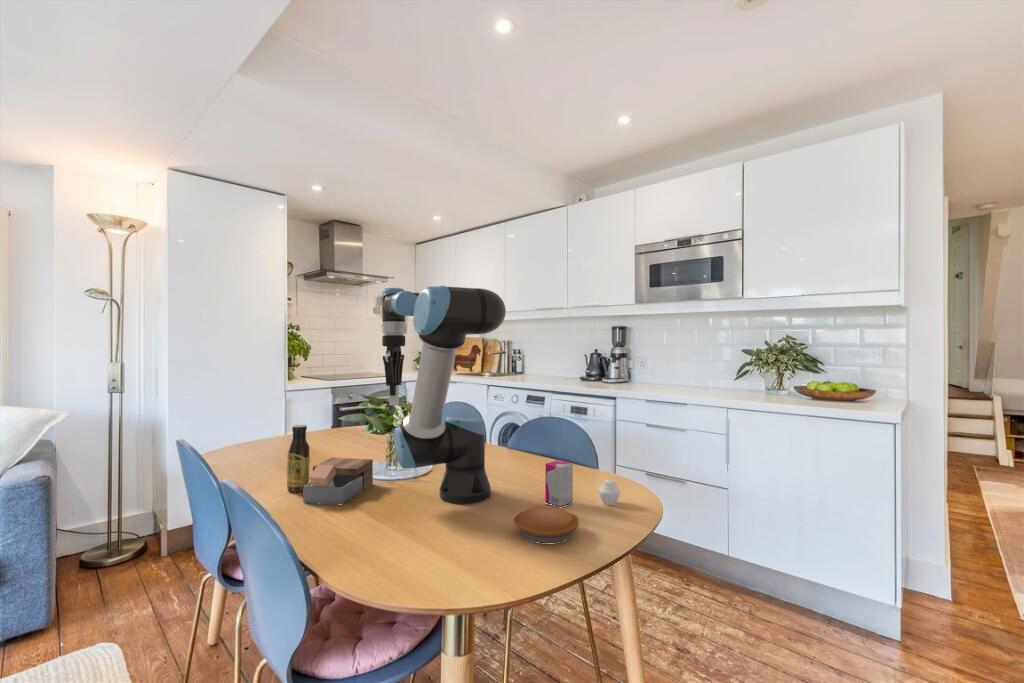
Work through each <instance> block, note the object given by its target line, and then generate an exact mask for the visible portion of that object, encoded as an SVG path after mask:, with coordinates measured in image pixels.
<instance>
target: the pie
mask: <svg viewBox="0 0 1024 683" xmlns="http://www.w3.org/2000/svg"><path fill="white" fill-rule="evenodd" d="M513 521H514V524H515V526H516V527H517V528H518V529H519V532H520V534H521V535H522V536H523V538H525V539H526V540H527V539H528V541H529V540H531V541H534V542H533V543H535V542H539V543H557V542H561V541H564V540H566V539H567V540H569V538H570V537H571V535H572V534H573V533H574V531H575V529H576V528H577V527H578V526H579V522H580V521H579V518H578V515H576V514H574V513H572V512H569V511H568V510H566V509H564V508H558V507H554V506H550V505H547V506H544V505H543V506H533V507H530V508H526V509H524V510H523V511H520V512H519V513H517V514H516V515H515V516H514V518H513ZM567 540H566V541H567ZM531 541H530V542H531ZM564 542H565V541H564ZM539 543H538V544H539ZM561 543H562V542H561ZM557 544H558V543H557Z"/></svg>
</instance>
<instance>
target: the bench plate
mask: <svg viewBox="0 0 1024 683" xmlns="http://www.w3.org/2000/svg"><path fill="white" fill-rule="evenodd" d="M319 464H320V465H334V467H335V470H336V474H335V475H359V476H363V491H365V490H367V489H368V488H369V487H372V485H374V484H373V483H374V481H373V480H374V478H373V477H374V476H373V475H374V473H373V471H374V470H373V469H374V468H373V466H374V465H373V458H372V459H371V458H352V457H351V458H347V457H346V458H345V457H331V458H329V459H325V460H324V461H322V462H320V463H319ZM317 465H318V464H315V465H314V466H312V472H313V471H314V469H315V468H316V466H317ZM366 488H367V489H366Z"/></svg>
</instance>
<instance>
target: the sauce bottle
mask: <svg viewBox="0 0 1024 683" xmlns="http://www.w3.org/2000/svg"><path fill="white" fill-rule="evenodd" d="M307 427H308V426H307V424H296V425H295V424H294V425H293V426H292V428H291V429H292V430H291V431H292V440H291V444H290V446H289V448H288V452H287V467H286V468H287V470H286V474H287V475H286V476H287V477H286V486H287V487H286V488H287V491H288V492H290V491H291V493H294V492H295V493H299V491H300V492H303V486H304V485H306V484H308V483H310V478H309V477H310V459H311V458H310V444H309V443H308V442H307Z"/></svg>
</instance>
